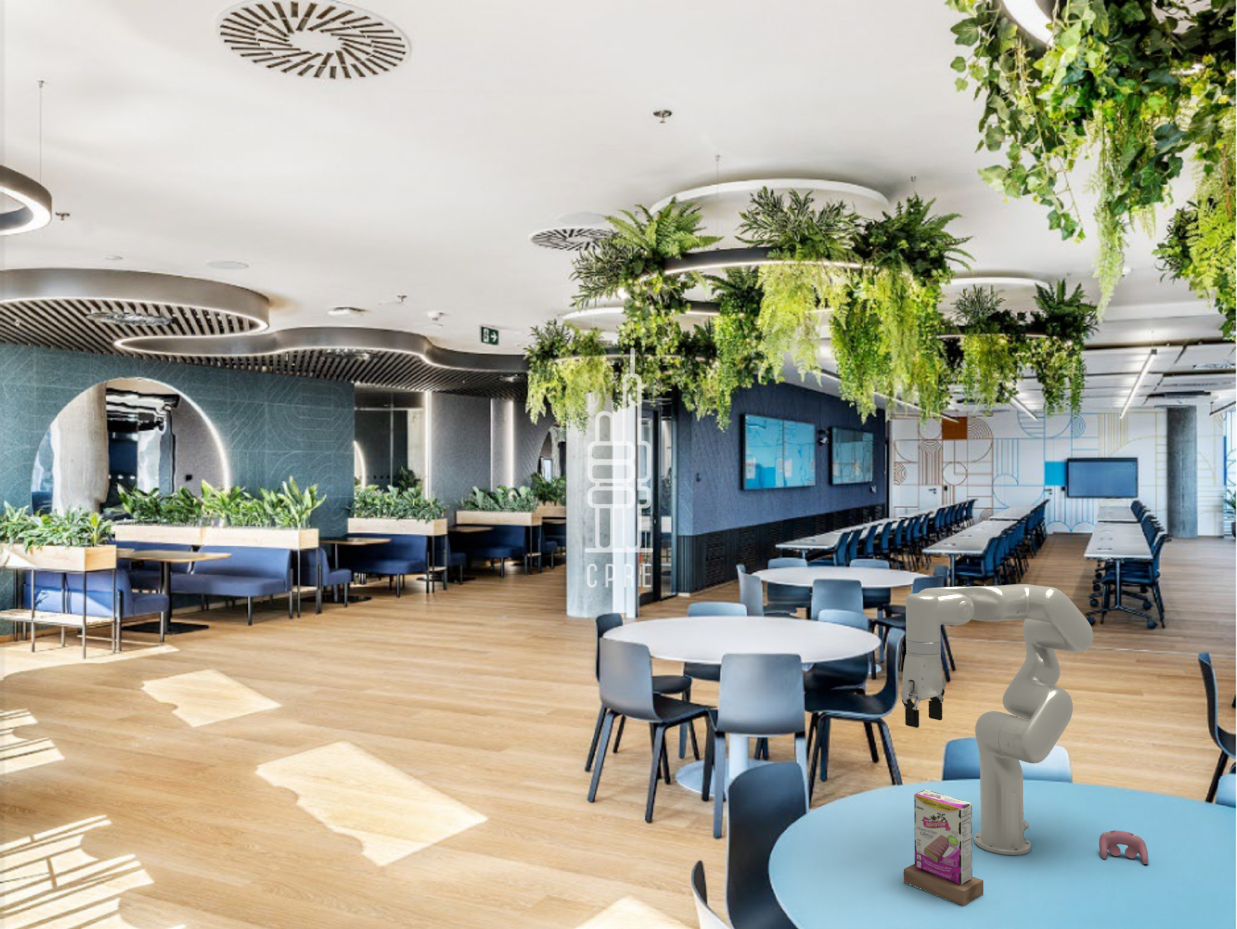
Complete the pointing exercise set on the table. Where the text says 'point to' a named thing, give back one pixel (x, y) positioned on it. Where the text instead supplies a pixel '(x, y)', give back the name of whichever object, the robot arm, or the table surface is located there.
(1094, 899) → the table surface
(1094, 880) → the table surface
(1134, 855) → the video game controller
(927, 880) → the walnut base
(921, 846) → the candy bar box
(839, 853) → the table surface
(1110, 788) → the table surface
